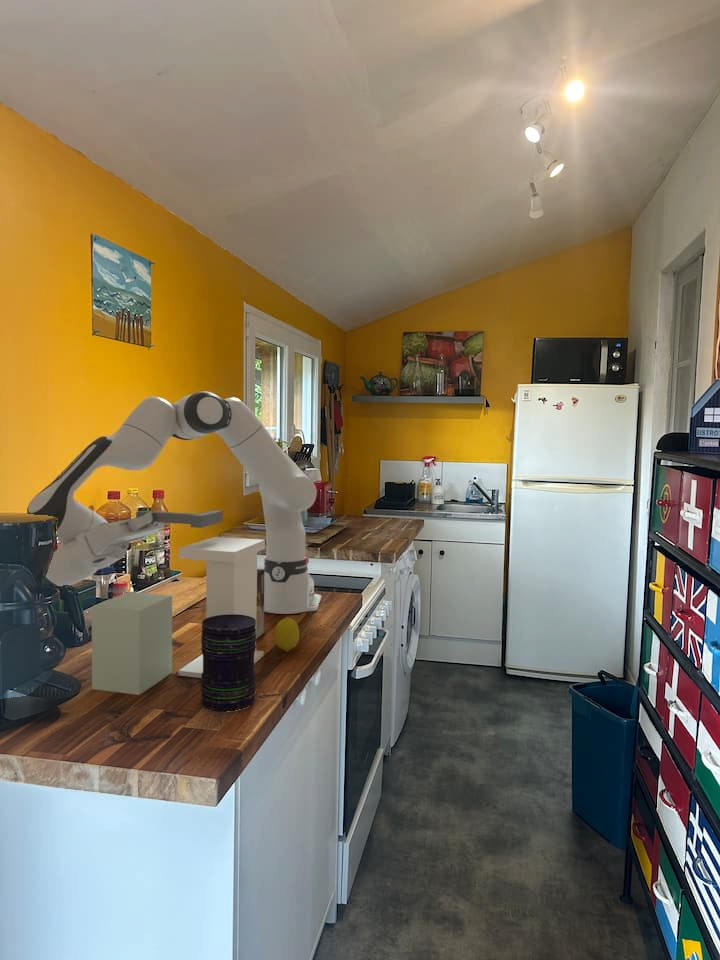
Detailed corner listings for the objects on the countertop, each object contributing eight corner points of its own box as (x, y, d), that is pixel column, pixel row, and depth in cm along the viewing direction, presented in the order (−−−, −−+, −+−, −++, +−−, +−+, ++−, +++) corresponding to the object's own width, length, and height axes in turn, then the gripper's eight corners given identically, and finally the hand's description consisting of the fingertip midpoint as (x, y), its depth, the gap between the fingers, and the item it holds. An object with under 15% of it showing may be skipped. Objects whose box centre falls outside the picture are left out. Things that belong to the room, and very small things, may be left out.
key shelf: (213, 650, 147) (214, 536, 145) (263, 655, 144) (265, 539, 142) (178, 675, 131) (179, 548, 129) (233, 681, 128) (234, 552, 127)
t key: (151, 517, 144) (151, 507, 144) (222, 521, 141) (222, 510, 140) (125, 523, 135) (125, 511, 135) (201, 527, 131) (201, 516, 131)
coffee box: (240, 630, 162) (241, 567, 161) (264, 632, 160) (265, 568, 159) (225, 642, 153) (226, 574, 152) (251, 644, 152) (251, 576, 150)
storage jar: (208, 689, 124) (209, 613, 123) (259, 691, 124) (260, 614, 123) (193, 712, 114) (194, 628, 113) (249, 714, 114) (250, 630, 113)
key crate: (128, 667, 135) (128, 591, 134) (172, 672, 132) (172, 595, 131) (92, 689, 123) (91, 606, 122) (139, 695, 121) (139, 610, 120)
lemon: (279, 657, 143) (280, 621, 143) (271, 649, 148) (271, 615, 148) (302, 653, 146) (303, 619, 145) (293, 646, 151) (294, 612, 150)
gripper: (139, 548, 152) (186, 521, 148) (84, 564, 132) (136, 534, 129) (127, 524, 152) (174, 497, 149) (70, 537, 132) (122, 506, 129)
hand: (156, 514), depth 139 cm, fingers closed on t key, 2 cm apart
